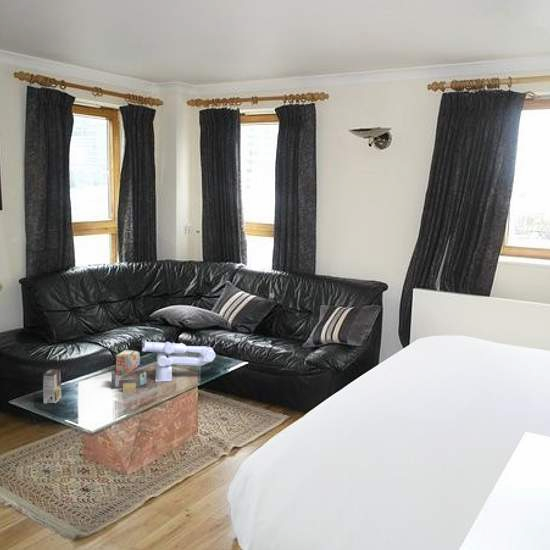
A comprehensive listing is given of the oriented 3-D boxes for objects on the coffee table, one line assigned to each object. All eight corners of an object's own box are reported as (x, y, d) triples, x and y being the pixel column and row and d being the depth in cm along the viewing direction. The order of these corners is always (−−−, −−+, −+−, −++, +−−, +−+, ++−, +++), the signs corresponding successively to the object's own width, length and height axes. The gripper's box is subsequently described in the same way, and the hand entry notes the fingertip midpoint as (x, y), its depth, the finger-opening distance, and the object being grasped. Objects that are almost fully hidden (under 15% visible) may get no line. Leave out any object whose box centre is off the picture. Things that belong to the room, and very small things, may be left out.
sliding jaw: (146, 379, 353) (146, 370, 353) (146, 384, 344) (146, 376, 343) (140, 379, 353) (140, 371, 352) (140, 385, 343) (140, 376, 342)
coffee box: (50, 397, 322) (49, 368, 319) (61, 398, 322) (61, 369, 319) (43, 403, 313) (42, 374, 310) (55, 404, 313) (54, 374, 310)
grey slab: (146, 380, 355) (146, 371, 354) (147, 387, 343) (147, 378, 342) (112, 382, 350) (112, 373, 349) (111, 388, 338) (111, 379, 338)
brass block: (123, 390, 337) (123, 383, 336) (135, 390, 338) (135, 382, 338) (123, 392, 334) (123, 384, 333) (135, 392, 335) (135, 384, 335)
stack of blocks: (131, 364, 385) (131, 346, 383) (140, 365, 384) (140, 347, 382) (115, 374, 365) (115, 355, 363) (125, 375, 363) (125, 356, 362)
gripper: (153, 337, 360) (130, 335, 357) (154, 343, 346) (130, 342, 343) (152, 348, 361) (129, 347, 357) (152, 355, 347) (129, 354, 344)
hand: (129, 345), depth 350 cm, fingers open, 7 cm apart
